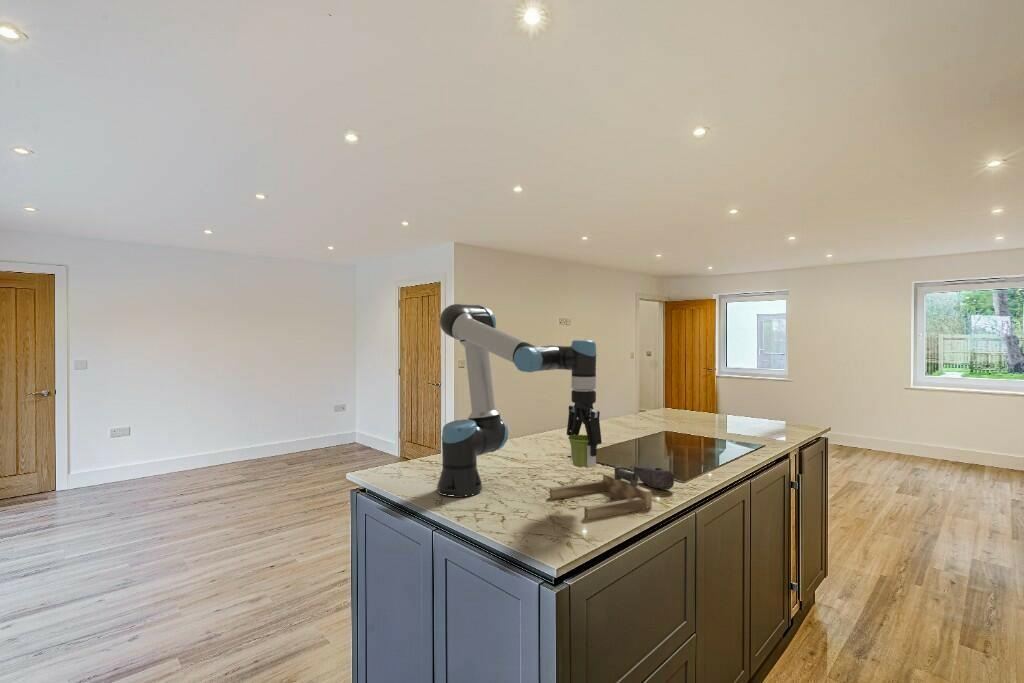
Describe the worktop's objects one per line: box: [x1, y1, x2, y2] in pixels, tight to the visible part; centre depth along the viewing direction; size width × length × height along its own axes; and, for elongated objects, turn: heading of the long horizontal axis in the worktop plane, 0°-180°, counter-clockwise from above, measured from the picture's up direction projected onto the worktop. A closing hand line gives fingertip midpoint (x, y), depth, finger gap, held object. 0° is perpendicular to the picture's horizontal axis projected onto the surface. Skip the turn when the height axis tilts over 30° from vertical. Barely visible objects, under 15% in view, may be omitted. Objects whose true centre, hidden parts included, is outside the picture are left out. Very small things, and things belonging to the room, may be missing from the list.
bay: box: [549, 465, 653, 520], centre depth 153 cm, size 22×23×11 cm
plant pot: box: [567, 434, 590, 469], centre depth 151 cm, size 9×9×9 cm
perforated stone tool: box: [638, 466, 675, 491], centre depth 169 cm, size 15×5×7 cm, turn 27°
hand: (583, 462), depth 151 cm, fingers closed on plant pot, 8 cm apart
